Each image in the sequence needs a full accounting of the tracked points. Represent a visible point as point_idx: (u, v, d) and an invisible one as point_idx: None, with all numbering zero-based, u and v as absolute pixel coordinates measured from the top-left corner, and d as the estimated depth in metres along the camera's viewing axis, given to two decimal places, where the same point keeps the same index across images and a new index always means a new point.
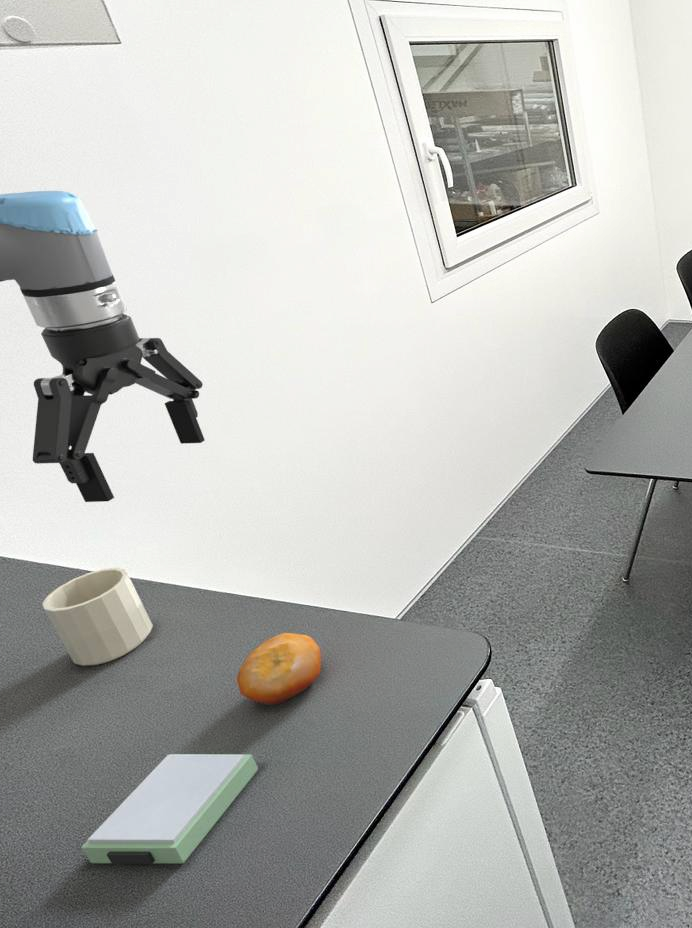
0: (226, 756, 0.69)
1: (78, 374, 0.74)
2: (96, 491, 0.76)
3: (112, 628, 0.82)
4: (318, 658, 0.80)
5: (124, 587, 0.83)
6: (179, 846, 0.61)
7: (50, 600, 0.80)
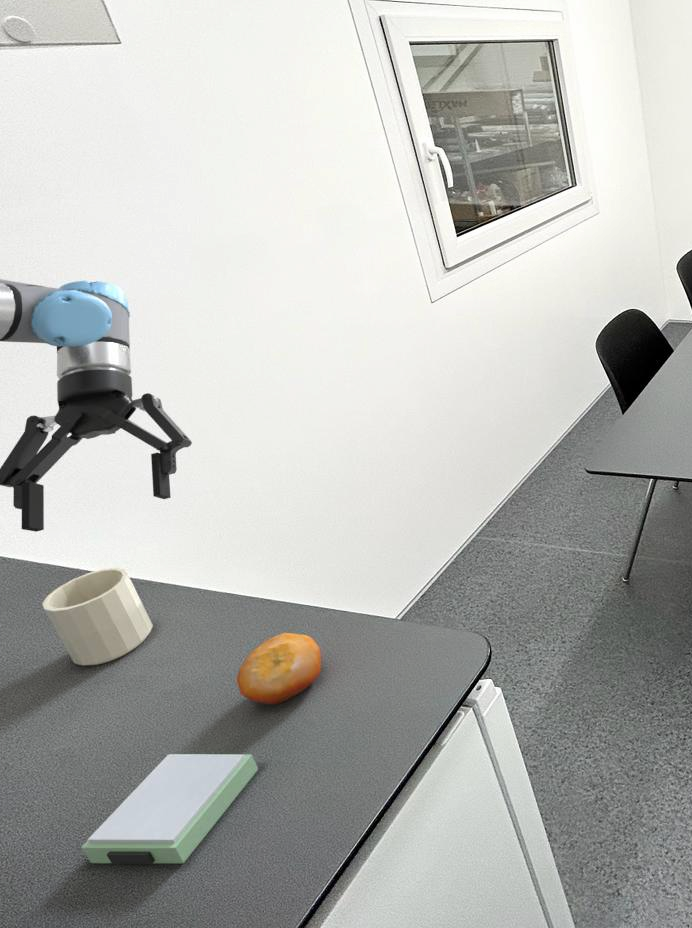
0: (226, 756, 0.69)
1: None
2: (166, 487, 0.93)
3: (112, 628, 0.82)
4: (318, 658, 0.80)
5: (124, 587, 0.83)
6: (179, 846, 0.61)
7: (50, 600, 0.80)
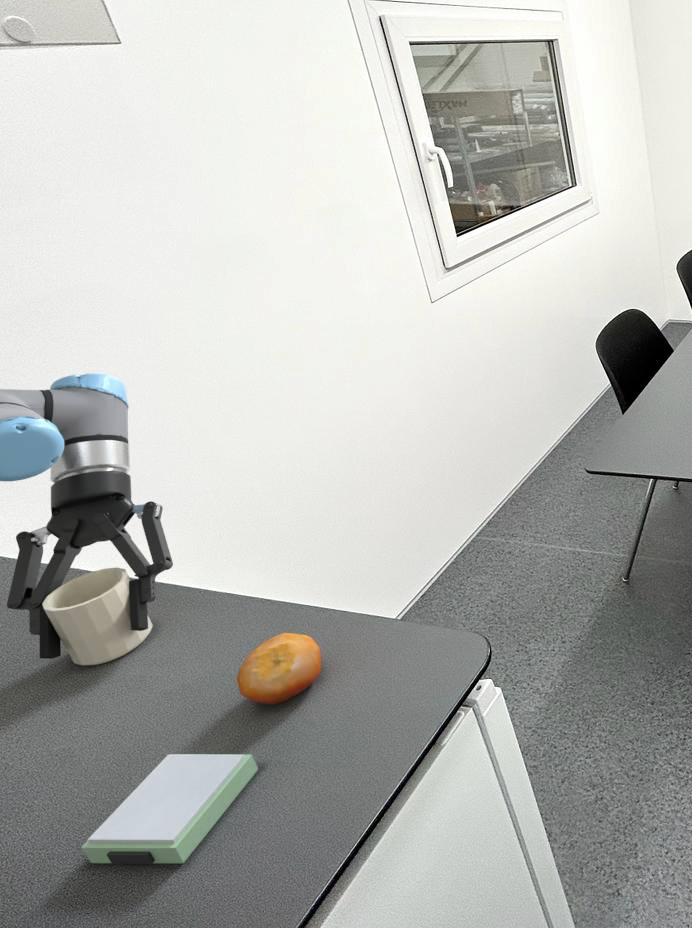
0: (226, 756, 0.69)
1: None
2: (144, 617, 0.85)
3: (112, 628, 0.82)
4: (318, 658, 0.80)
5: (124, 587, 0.83)
6: (179, 846, 0.61)
7: (50, 600, 0.80)
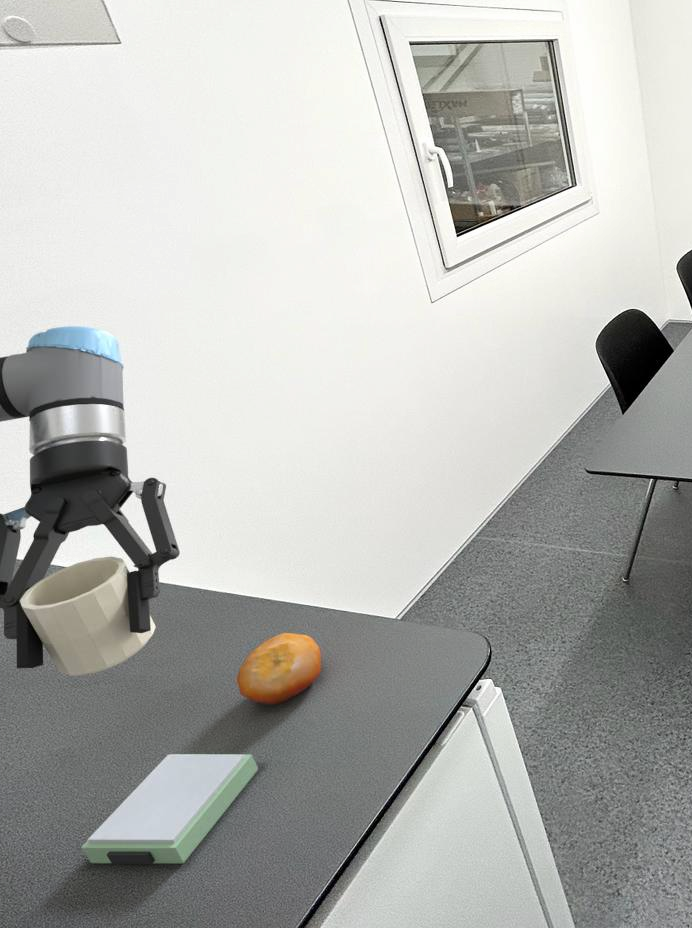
0: (226, 756, 0.69)
1: None
2: (146, 616, 0.70)
3: (107, 630, 0.67)
4: (318, 658, 0.80)
5: (121, 580, 0.69)
6: (179, 846, 0.61)
7: (30, 596, 0.65)
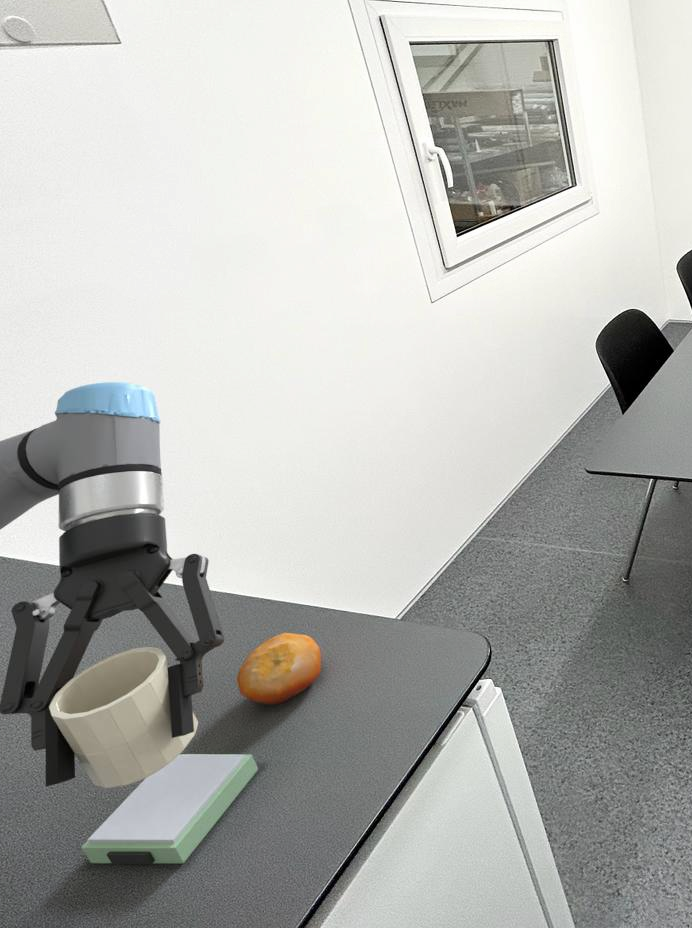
0: (226, 756, 0.69)
1: None
2: (189, 716, 0.62)
3: (146, 736, 0.59)
4: (318, 658, 0.80)
5: (162, 677, 0.60)
6: (179, 846, 0.61)
7: (60, 700, 0.57)
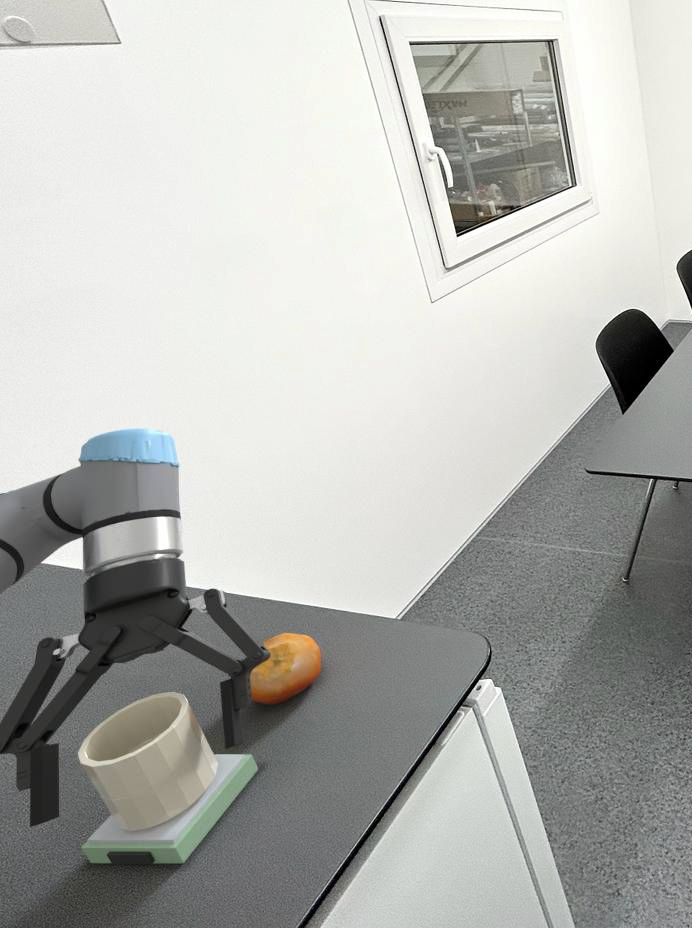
0: (226, 756, 0.69)
1: None
2: (239, 728, 0.66)
3: (170, 780, 0.61)
4: (318, 658, 0.80)
5: (185, 723, 0.63)
6: (179, 846, 0.61)
7: (88, 747, 0.60)
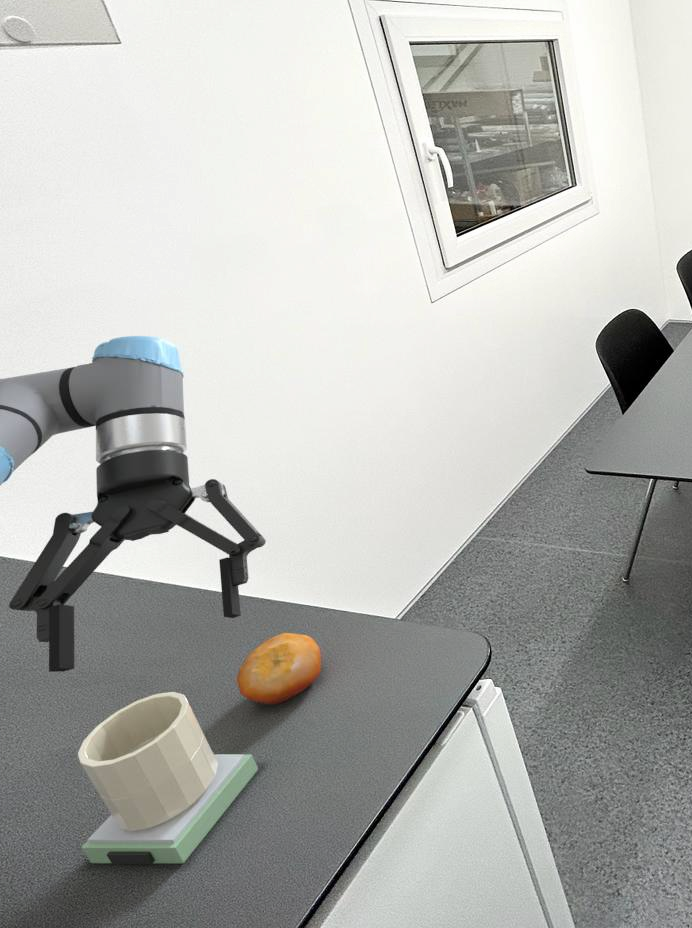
0: (226, 756, 0.69)
1: None
2: (237, 602, 0.72)
3: (170, 780, 0.61)
4: (318, 658, 0.80)
5: (185, 723, 0.63)
6: (179, 846, 0.61)
7: (88, 747, 0.60)
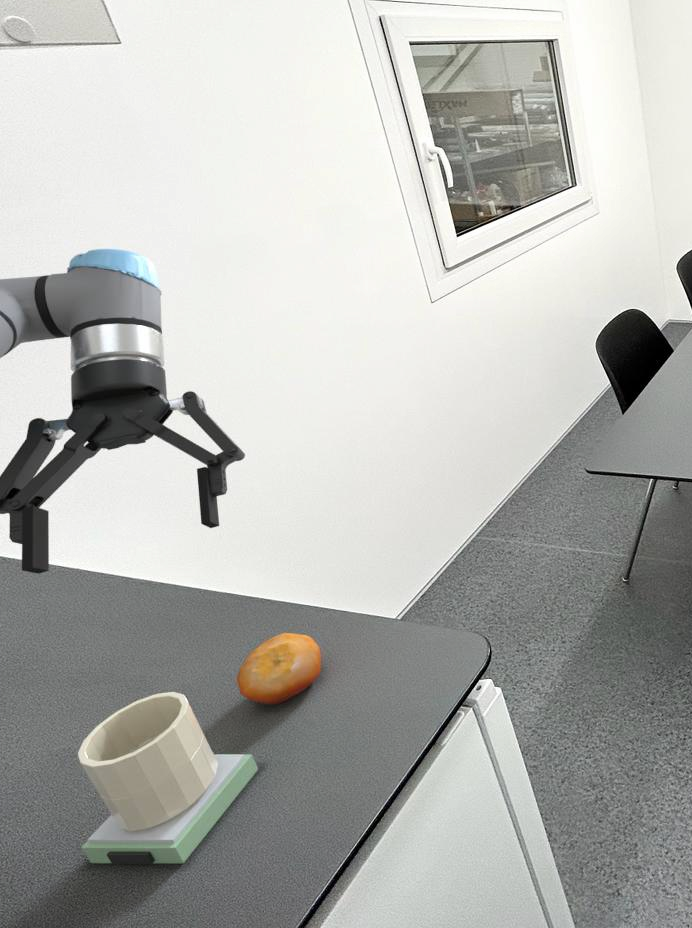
0: (226, 756, 0.69)
1: None
2: (215, 512, 0.71)
3: (170, 780, 0.61)
4: (318, 658, 0.80)
5: (185, 723, 0.63)
6: (179, 846, 0.61)
7: (88, 747, 0.60)
